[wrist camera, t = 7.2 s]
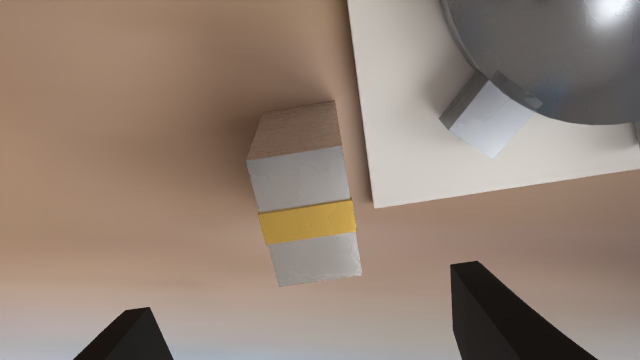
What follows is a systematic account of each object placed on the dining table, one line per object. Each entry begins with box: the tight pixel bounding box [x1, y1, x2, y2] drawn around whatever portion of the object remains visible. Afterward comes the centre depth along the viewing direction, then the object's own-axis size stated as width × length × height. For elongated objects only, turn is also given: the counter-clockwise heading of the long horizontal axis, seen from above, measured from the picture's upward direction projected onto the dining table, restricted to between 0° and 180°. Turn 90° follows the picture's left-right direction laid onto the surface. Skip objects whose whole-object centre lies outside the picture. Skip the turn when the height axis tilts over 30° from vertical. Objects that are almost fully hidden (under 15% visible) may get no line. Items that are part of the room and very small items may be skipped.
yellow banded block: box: [246, 101, 362, 287], centre depth 16 cm, size 5×3×5 cm, turn 10°
